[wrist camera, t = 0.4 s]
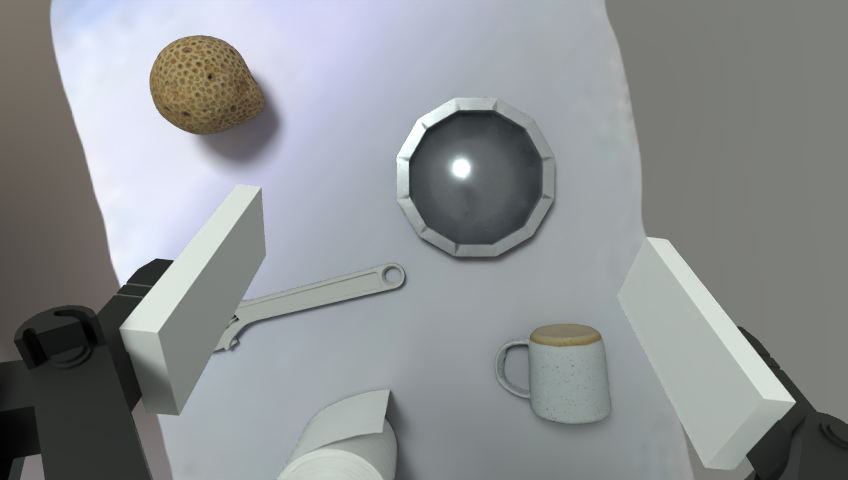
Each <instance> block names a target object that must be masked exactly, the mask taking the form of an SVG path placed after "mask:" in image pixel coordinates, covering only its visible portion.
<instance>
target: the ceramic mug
mask: <svg viewBox="0 0 848 480" xmlns="http://www.w3.org/2000/svg"><path fill="white" fill-rule="evenodd" d="M519 344H527V345H528V346H529V365H530V375H529V376H530V391H528V390H524V389H521V388H519V387H517V386H515V385H513V384H512V383H510V382H509V381H508V380H507V379H506V377H505V374H504V358H505V357H506V353H505V352H506V349H507V348H509V347H511V346H512V345H519ZM495 372H496V376H497V379H498V380H499V382H500V383H501V384H502V385H503V386H504V387H505V388H506V389H507V390H508V391H510V392H512V393H513V394H515V395H518V396H521V397H524V398H528V399H530V405H531V409H532V411H533V412H534V413H535V414H537V415H538V416H540V417H542V418H544V419H547V420H550V421H554V422H561V423H568V424H585V423H591V422H596V421H600V420H602V419H604V418H606V417H607V416H608V415H609V414H610V412H611V402H610V394H609V385H608V376H607V368H606V358H605V349H604V344H603V340H602V337H601V335H600V333H599V332H598V331H597V330H595V329H594V328H592V327H589V326H585V325H577V324H558V325H549V326H544V327H540V328H538V329H536V330H535V331H534V332H533V333H532V334H531V336H530V338H517V339H513V340H510V341H508V342H507V343H505V344H504V345H503V346H502V347H501V349H500V350H499V351H498V353H497V356H496V359H495Z"/></svg>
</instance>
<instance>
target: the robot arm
mask: <svg viewBox="0 0 848 480" xmlns="http://www.w3.org/2000/svg"><path fill="white" fill-rule="evenodd" d="M265 256H266V250H265V235H264V221H263V206H262V191H261V187H257V186H249V185H242V184H237V185H236V186H235V188H234V189H233V190H232V191H231V193H230V194H229V195H228V196H227V197H226V199H225V200H224V201H223V202H222V204H221V205H220V206H219V207H218V208H217V210H216V211H215V212H214V213H213V214H212V216H211V217H210V218H209V219H208V221H207V222H206V223H205V224H204V225H203V227H202V228H201V229H200V230H199V232H198V233H197V234H196V235H195V236H194V238H193V239H192V240H191V241H190V243H189V244H188V245H187V246H186V247H185V249H184V250H183V251H182V252H181V253H180V255H179V256H178V257H177V258H176V260H175V261H173V260H165V259H155V260H153V261H151V262H150V263H148V264H146V265H144V266H143V267H141V268H139V269H138V270H137V271H136V272H135V273H134V274H133V275H132V277H131V278H130V279H129V280H128V281H127V283H126V285H123V286H122V288H121V289H120V290H119V291H118V292H117V295H116V296H113V297H112V298H111V300H110V301H109V302H108V303H107V304H106V305H105V306H104V307H103V308H102V310H101V311H100V312H99V313H98V314H97V315H96V314H95V312H94V311H93V310H92V309H89V308H87V307H84V306H74V305H67V306H61V307H56V308H52V309H49V310H46V311H44V312H41V313H38V314H36V315H35V316H33V317H32V318H30V319H29V320H27V321H25V322H24V323H23V324H22V325H21V326H20V328H19V329H18V330H17V331H16V334H15V338H14V342H15V344H16V346H17V348H18V350H19V352H20V354H21V356H22V358H23V360H17V361H10V362H2V363H0V480H20V477H21V472H22V468H23V464H24V460H25V457H26V456H30V455H36V454H41V456H42V463H43V469H44V476H45V480H153V478H152V475H151V472H150V469H149V466H148V463H147V460H146V456H145V453H144V450H143V447H142V445H141V441H140V438H139V435H138V432H137V429H136V426H135V423H134V420H133V417H132V414H131V412H132V410H133V409H134V407H135V406H136V404H137V403H138V401H139V399H140V398H142V402H143V405H144V408H145V411H146V412H148V413H158V414H168V415H178V416H179V415H180V413H181V411H182V409H183V407H184V405H185V404H186V402H187V400H188V398H189V396H190V394H191V392H192V391H193V389H194V387H195V385H196V383H197V381H198V379H199V378H200V376H201V374H202V372H203V370H204V368H205V367H206V365H207V363H208V361H209V359H210V357H211V355H212V354H213V352H214V350H215V348H216V346H217V344H218V343H219V341H220V339H221V337H222V335H223V333H224V331H225V330H226V328H227V326H228V324H229V322H230V320H231V319H232V317H233V315H234V313H235V311H236V309H237V307H238V306H239V304H240V302H241V300H242V298H243V296H244V295H245V293H246V291H247V289H248V287H249V285H250V283H251V282H252V280H253V278H254V276H255V274H256V272H257V270H258V269H259V267H260V265H261V263H262V261H263V259H264V258H265ZM617 299H618V301H619V303H620V305H621V307H622V309H623V311H624V313H625V315H626V317H627V318H628V320H629V322H630V324H631V326H632V328H633V330H634V332H635V334H636V336H637V338H638V340H639V342H640V344H641V345H642V347H643V349H644V351H645V353H646V355H647V357H648V359H649V361H650V363H651V365H652V367H653V369H654V371H655V372H656V374H657V376H658V378H659V380H660V382H661V384H662V386H663V388H664V390H665V392H666V394H667V396H668V398H669V399H670V401H671V403H672V405H673V407H674V409H675V411H676V413H677V415H678V417H679V419H680V421H681V423H682V425H683V426H684V428H685V430H686V432H687V434H688V436H689V438H690V440H691V442H692V444H693V446H694V448H695V450H696V451H697V453H698V455H699V457H700V459H701V461H702V463H703V465H704V467H705V468H715V469H726V470H734V469H735V468H736V467H737V466H738V465H739V464H740V462H741V461H742V460H743V459H744V458H745V457H746V456H747V458H748V460H749V461H750V463H751V464H752V466H753V468H754V470H753V471H752V472H751V473H750V475H748V477H747V478H746V479H745V480H848V424H846V423H845V422H843V421H841V420H840V419H838V418H835V417H833V416H831V415H828V414H825V413H820V412H817V411H816V410H815V409H814V408H813V406H812V405H811V404H810V403H809V401H808V400H807V399H806V398H805V397H804V395H803V394H802V393H801V392H800V390H799V389H798V388H797V387H796V386H795V384H794V383H793V382H792V381H791V380H790V378H789V377H788V376H787V375H786V373H785V372H784V371H783V370H780V366H779V365H778V364H777V363H776V362H775V360H774V359H773V358H770V354H769V353H768V352H767V350H766V349H765V348H764V347H763V345H762V344H761V343H760V342H759V341H758V340H757V339H756V338H755V337H753V336H752V335H751V334H750V333H748V332H747V331H746V330H745V329H743V328H742V327H738V326H735V324H734V323H733V322H732V321H731V319H730V318H729V317H728V316H727V314H726V313H725V312H724V311H723V309H721V307H720V305H719V304H718V303H717V302H716V300H715V299H714V298H713V297H712V295H711V294H710V293H709V292H708V290H707V289H706V288H705V287H704V285H703V284H702V283H701V282H700V280H699V279H698V278H697V277H696V275H695V274H694V273H693V271H692V270H691V269H690V268H689V266H688V265H687V264H686V263H685V261H684V260H683V259H682V258H681V256H680V255H679V254H678V252H676V250H675V249H674V247H673V246H672V245H671V244H670V242H669V241H668V240H665V239H658V238H650V237H646V238H645V240H644V242H643V244H642V246H641V248H640V251H639V253H638V255H637V257H636V259H635V261H634V263H633V265H632V267H631V269H630V271H629V273H628V275H627V277H626V279H625V281H624V283H623V285H622V287H621V290H620V292H619V294H618V296H617Z"/></svg>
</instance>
